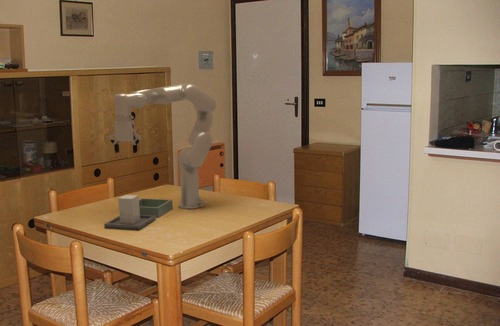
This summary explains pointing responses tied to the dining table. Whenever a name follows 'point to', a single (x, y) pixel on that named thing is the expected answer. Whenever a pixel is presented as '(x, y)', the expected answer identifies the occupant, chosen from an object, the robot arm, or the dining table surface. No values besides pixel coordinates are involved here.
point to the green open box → (154, 207)
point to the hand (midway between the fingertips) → (126, 152)
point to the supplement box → (129, 209)
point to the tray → (137, 226)
